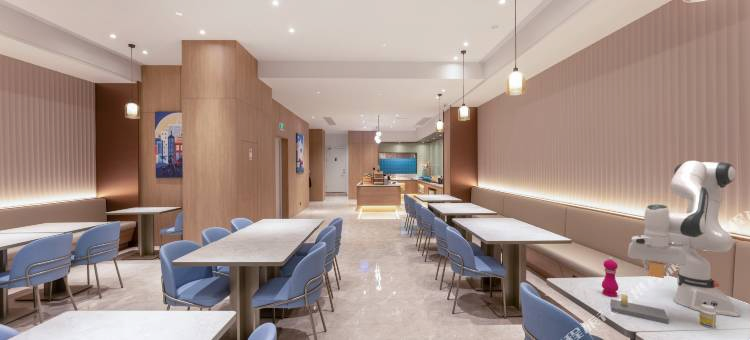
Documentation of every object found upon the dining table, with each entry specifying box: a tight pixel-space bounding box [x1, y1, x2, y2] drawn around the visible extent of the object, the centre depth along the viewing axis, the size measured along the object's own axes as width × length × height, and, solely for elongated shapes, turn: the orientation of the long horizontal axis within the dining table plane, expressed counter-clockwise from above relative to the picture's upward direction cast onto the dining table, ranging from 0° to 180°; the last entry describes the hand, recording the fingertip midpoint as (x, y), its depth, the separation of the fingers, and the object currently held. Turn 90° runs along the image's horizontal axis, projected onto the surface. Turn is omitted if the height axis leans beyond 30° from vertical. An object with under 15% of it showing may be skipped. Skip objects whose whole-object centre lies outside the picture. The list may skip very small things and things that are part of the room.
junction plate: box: [610, 293, 670, 325], centre depth 151 cm, size 20×12×7 cm, turn 55°
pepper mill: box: [601, 256, 619, 298], centre depth 172 cm, size 7×7×20 cm
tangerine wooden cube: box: [647, 260, 665, 279], centre depth 147 cm, size 5×5×6 cm
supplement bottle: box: [699, 304, 717, 329], centre depth 139 cm, size 5×5×8 cm
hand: (655, 270), depth 147 cm, fingers closed on tangerine wooden cube, 5 cm apart
